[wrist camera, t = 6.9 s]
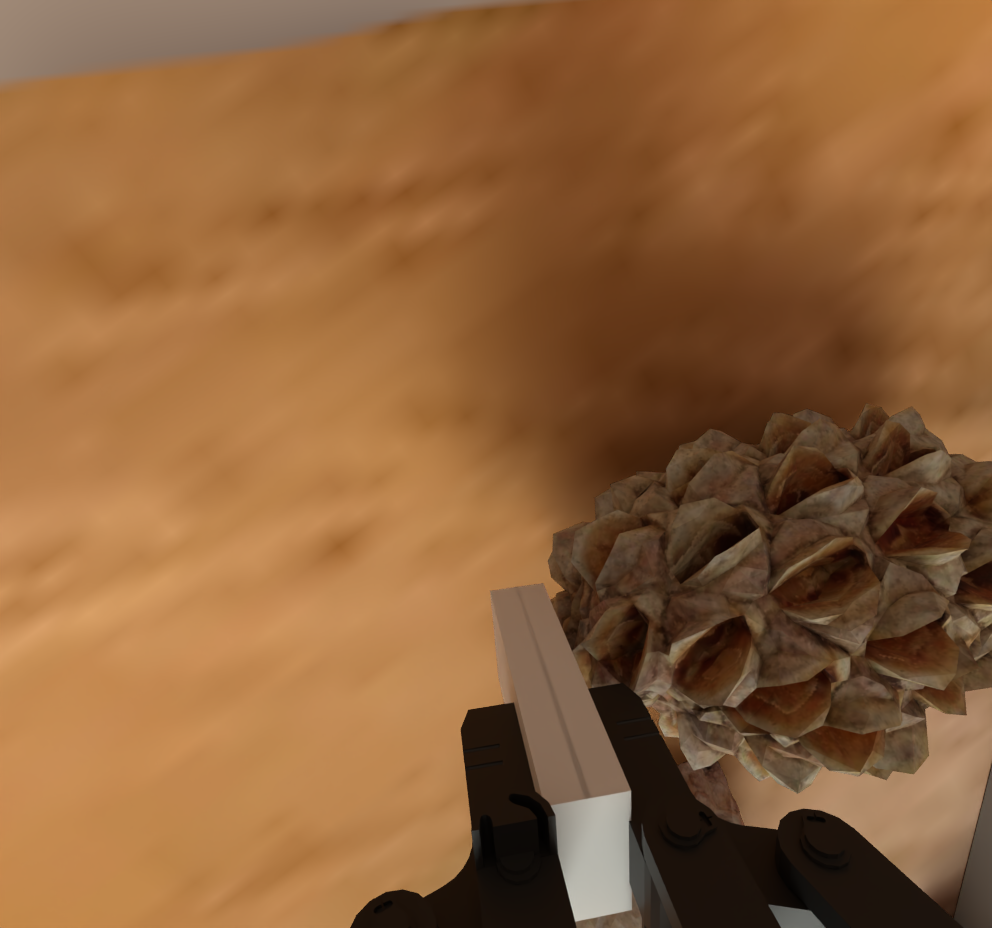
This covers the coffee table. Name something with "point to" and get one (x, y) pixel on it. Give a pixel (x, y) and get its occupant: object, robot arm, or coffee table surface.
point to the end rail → (978, 873)
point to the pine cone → (790, 593)
